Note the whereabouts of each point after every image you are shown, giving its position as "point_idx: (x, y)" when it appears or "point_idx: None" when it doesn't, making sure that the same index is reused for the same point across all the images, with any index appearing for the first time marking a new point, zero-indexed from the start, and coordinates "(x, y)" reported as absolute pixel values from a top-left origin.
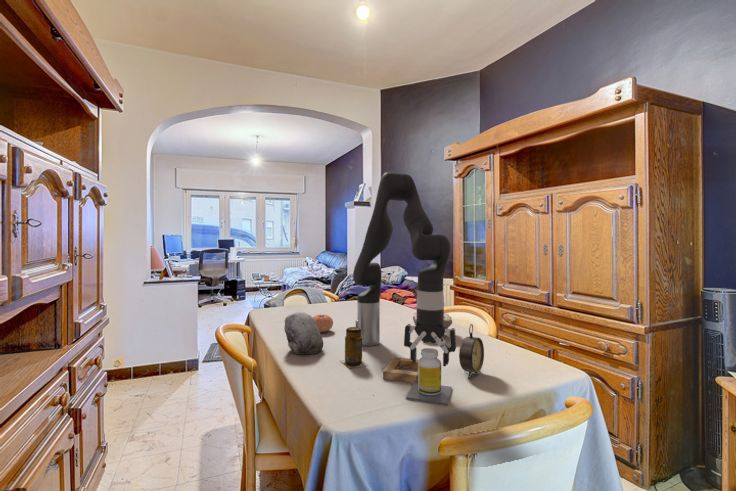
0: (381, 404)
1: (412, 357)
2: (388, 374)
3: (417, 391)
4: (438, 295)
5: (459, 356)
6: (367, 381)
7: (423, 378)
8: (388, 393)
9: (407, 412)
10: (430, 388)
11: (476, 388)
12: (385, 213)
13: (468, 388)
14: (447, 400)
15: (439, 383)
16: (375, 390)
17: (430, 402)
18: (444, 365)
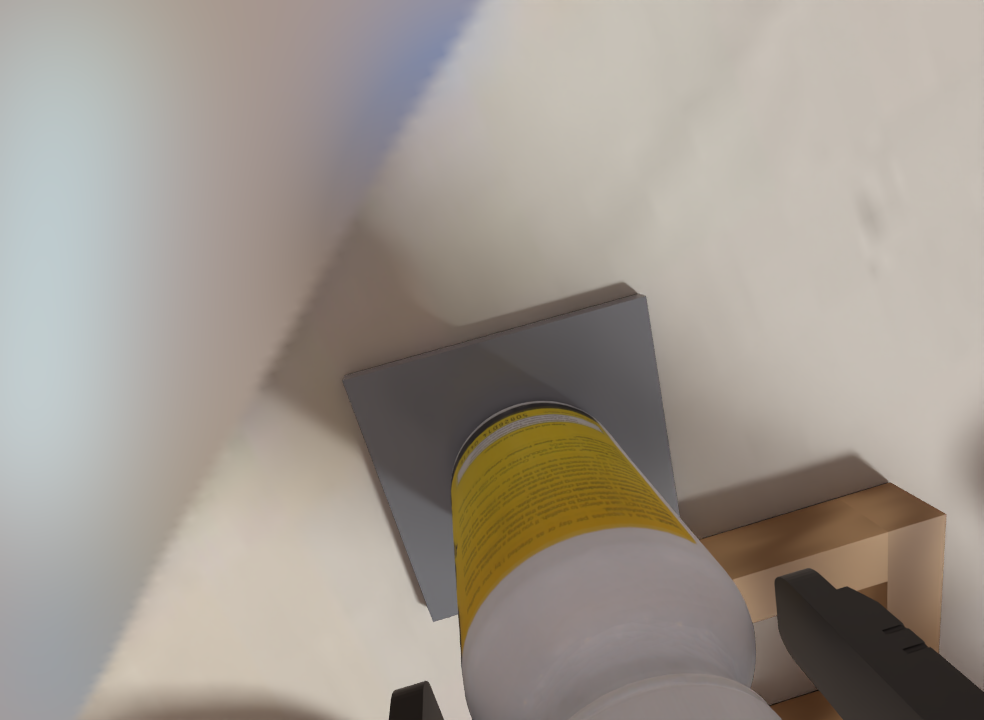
0: (767, 106)
1: (860, 622)
2: (886, 513)
3: (607, 425)
4: None
5: None
6: (973, 388)
7: (585, 454)
8: (782, 305)
9: (544, 95)
10: (502, 431)
11: (302, 701)
12: None
13: (345, 673)
14: (361, 421)
15: (454, 518)
16: (881, 294)
17: (463, 342)
18: (405, 693)
